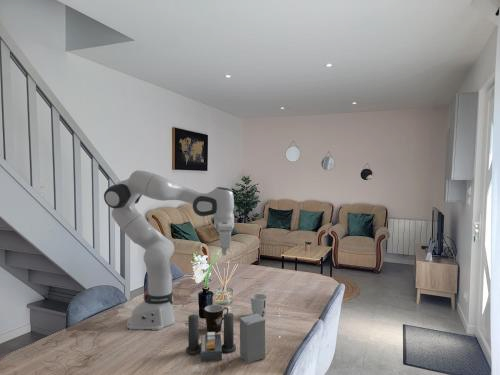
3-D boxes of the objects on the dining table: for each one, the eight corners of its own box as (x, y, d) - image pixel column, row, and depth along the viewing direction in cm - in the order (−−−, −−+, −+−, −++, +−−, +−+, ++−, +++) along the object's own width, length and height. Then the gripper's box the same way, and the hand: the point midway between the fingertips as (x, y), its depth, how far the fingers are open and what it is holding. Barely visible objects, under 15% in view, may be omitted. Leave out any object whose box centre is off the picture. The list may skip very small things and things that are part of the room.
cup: (265, 320, 164) (265, 300, 163) (249, 319, 165) (249, 298, 165) (268, 313, 172) (268, 294, 171) (252, 312, 173) (252, 293, 173)
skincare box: (257, 350, 135) (257, 312, 135) (266, 359, 129) (266, 318, 128) (238, 356, 131) (238, 316, 131) (247, 365, 125) (247, 323, 124)
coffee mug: (206, 335, 148) (205, 313, 148) (203, 327, 157) (203, 305, 156) (231, 332, 151) (231, 310, 151) (227, 324, 160) (227, 303, 159)
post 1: (185, 355, 131) (185, 320, 131) (186, 347, 137) (186, 314, 137) (201, 354, 132) (200, 319, 132) (201, 346, 138) (201, 313, 138)
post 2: (221, 353, 133) (221, 318, 133) (220, 345, 139) (220, 312, 139) (236, 352, 134) (236, 317, 134) (235, 344, 140) (235, 311, 139)
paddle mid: (207, 343, 133) (207, 339, 133) (207, 340, 136) (207, 336, 136) (215, 343, 134) (215, 339, 134) (214, 340, 136) (214, 336, 136)
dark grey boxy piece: (200, 361, 127) (200, 351, 127) (201, 343, 141) (201, 334, 141) (222, 360, 128) (222, 350, 128) (220, 342, 142) (220, 333, 142)
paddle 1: (207, 338, 137) (207, 335, 137) (207, 336, 140) (207, 332, 139) (214, 338, 138) (214, 334, 137) (214, 335, 140) (214, 331, 140)
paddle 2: (207, 349, 129) (206, 345, 129) (207, 346, 132) (206, 342, 132) (215, 347, 130) (214, 343, 129) (214, 344, 132) (213, 340, 132)
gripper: (216, 220, 160) (216, 249, 160) (217, 227, 139) (217, 260, 140) (229, 220, 160) (229, 249, 161) (232, 227, 140) (233, 259, 141)
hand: (224, 254), depth 150 cm, fingers closed
